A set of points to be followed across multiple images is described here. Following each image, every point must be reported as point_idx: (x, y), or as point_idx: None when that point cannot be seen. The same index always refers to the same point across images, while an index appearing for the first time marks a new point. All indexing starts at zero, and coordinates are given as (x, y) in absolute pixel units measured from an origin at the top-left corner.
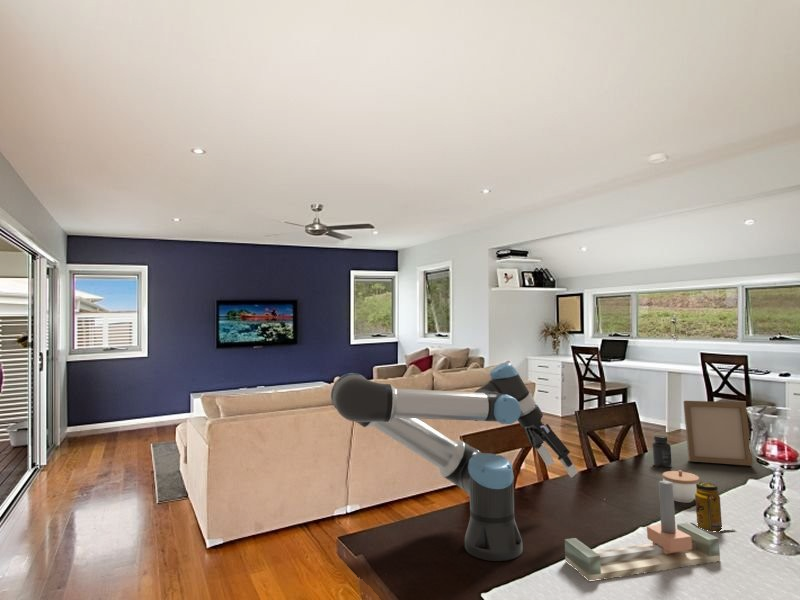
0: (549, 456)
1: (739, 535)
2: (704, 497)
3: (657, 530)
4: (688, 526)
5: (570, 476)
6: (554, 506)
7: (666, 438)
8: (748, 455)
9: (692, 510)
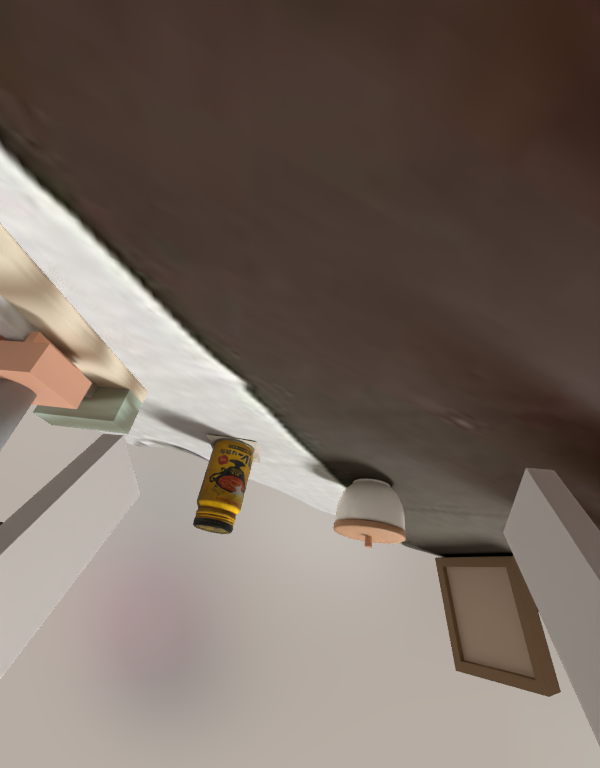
0: (542, 594)
1: (201, 449)
2: (201, 501)
3: (8, 375)
4: (104, 426)
5: (105, 439)
6: (533, 268)
7: (537, 608)
8: (441, 573)
9: (315, 468)
